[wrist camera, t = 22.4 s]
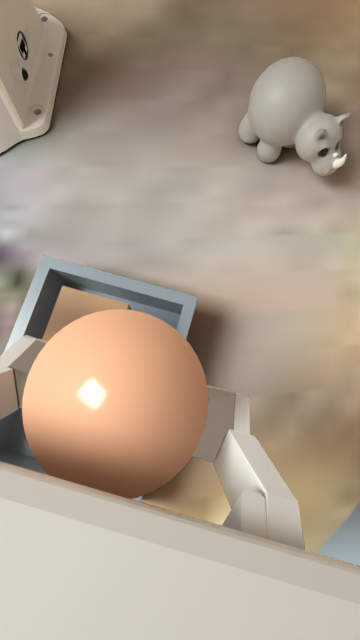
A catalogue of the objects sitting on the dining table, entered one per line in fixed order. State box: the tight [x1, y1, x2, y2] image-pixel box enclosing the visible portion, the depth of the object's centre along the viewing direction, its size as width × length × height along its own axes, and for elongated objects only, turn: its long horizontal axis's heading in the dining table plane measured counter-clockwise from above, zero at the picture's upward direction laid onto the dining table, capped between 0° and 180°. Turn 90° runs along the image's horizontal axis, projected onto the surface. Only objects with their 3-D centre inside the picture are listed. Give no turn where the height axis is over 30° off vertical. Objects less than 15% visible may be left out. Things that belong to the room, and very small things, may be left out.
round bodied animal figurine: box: [238, 57, 350, 176], centre depth 31 cm, size 7×12×8 cm, turn 36°
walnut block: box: [42, 286, 132, 341], centre depth 26 cm, size 5×5×8 cm
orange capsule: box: [22, 309, 208, 499], centre depth 12 cm, size 5×5×8 cm
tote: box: [0, 255, 198, 502], centre depth 27 cm, size 18×14×5 cm
